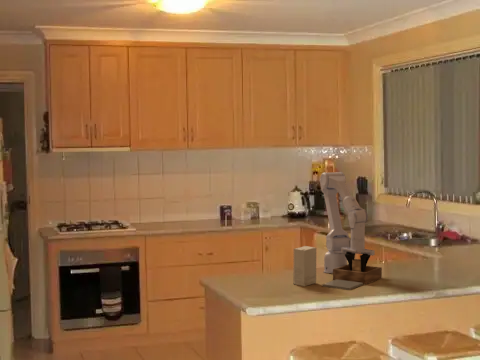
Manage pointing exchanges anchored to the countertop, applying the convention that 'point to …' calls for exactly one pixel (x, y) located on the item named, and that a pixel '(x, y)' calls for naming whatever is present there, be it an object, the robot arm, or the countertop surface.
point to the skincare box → (304, 266)
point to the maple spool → (356, 265)
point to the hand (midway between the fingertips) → (357, 270)
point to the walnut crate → (357, 274)
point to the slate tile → (342, 284)
